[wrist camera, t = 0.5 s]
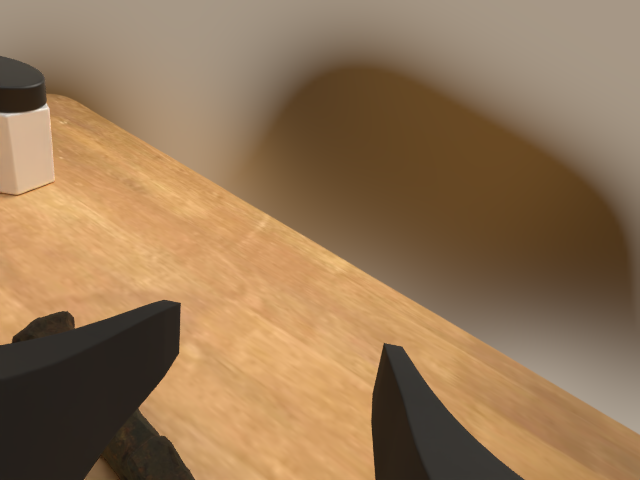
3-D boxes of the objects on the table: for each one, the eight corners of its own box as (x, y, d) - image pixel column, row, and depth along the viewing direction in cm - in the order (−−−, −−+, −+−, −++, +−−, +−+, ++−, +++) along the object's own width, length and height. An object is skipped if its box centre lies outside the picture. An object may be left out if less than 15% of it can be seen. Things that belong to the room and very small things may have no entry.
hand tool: (14, 358, 28) (5, 319, 25) (72, 332, 31) (70, 296, 28) (153, 590, 21) (161, 571, 18) (211, 529, 24) (224, 505, 21)
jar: (18, 148, 46) (5, 49, 39) (72, 176, 46) (68, 81, 39) (-66, 170, 39) (-99, 53, 32) (-3, 204, 38) (-24, 92, 31)
